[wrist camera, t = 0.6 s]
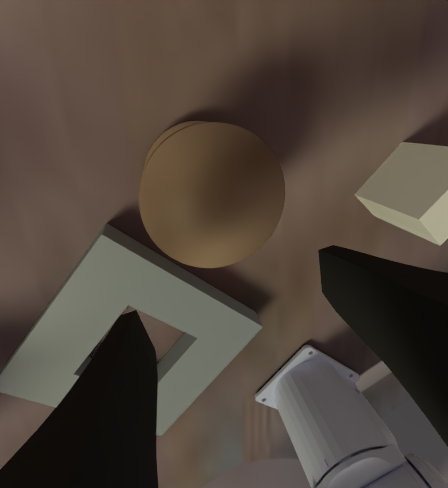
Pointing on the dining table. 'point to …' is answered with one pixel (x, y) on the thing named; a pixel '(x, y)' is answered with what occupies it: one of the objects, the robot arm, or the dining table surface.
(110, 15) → the dining table surface
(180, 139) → the wooden knob
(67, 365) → the notched board
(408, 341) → the robot arm
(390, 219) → the tab block
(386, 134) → the dining table surface
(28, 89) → the dining table surface
